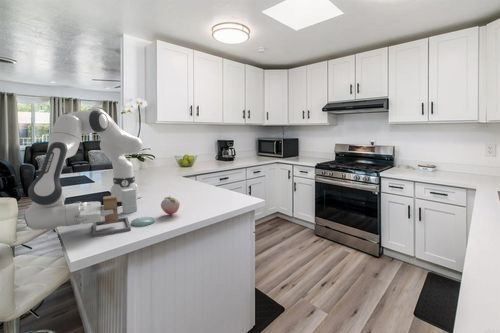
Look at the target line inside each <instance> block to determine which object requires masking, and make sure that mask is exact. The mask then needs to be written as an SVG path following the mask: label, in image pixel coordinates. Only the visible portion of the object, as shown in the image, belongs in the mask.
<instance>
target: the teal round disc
mask: <svg viewBox="0 0 500 333" xmlns="http://www.w3.org/2000/svg"><path fill="white" fill-rule="evenodd" d="M155 221H156V220H155V217H153V216H143V217H137V218H134V219H132V220H131V221H130V222H131V226H133V227H146V226H149V225H152V224H154V223H155Z"/></svg>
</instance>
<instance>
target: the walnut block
mask: <svg viewBox="0 0 500 333" xmlns="http://www.w3.org/2000/svg"><path fill="white" fill-rule="evenodd" d="M102 200H103V205H104V211H105V210H108V209H113V214H108V215H106V216H104V221H105V225H110V224H116V223H119V222H118V218H119V217H118V216H119V214H118V202H117V198H116V195H115V196H112V195H106V196H103V197H102Z"/></svg>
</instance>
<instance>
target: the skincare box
mask: <svg viewBox="0 0 500 333" xmlns="http://www.w3.org/2000/svg"><path fill="white" fill-rule="evenodd" d="M121 199H122V202H121V208H122V213H124V214H130V213H134V212H137V211H138V207H137V206H138V205H137V204H138V203H137V199H136V190H135V189H133V188H130V189H125V190H121Z"/></svg>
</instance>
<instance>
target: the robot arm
mask: <svg viewBox="0 0 500 333" xmlns="http://www.w3.org/2000/svg"><path fill="white" fill-rule="evenodd" d="M94 133H96V134H97V135H98V136H99V137H100V138H101V139H100V143H99V148H100V150H101V152H102V153H103V154H105V155H106V156H107V158H108V159H109V160H110V163H111V165H112V170H113V172H112V173H113V178H112V181H113V185H112V186H111V188H110V193H111V194H110V196H115V195H116V198H117V203H122V199H121V190H125V189H130V188H133V189H135V190H136V200H137V199H141V198H143V197H142V195H141V194H140V193H139V187H138V186H139V185H138V184H137V183H136V182H135V181H136V179H135V178H136V177H135V175H134V165H133V163H132V162H131V161H130V160H129V159H127V158H126V157H125V156H126V155H128V156H129V155H136V154H137V155H138V154H140V153H142V151H143V149H144V142H143V141H142V139H141V138H140V137H138V136H134V135H132V134H130V133H129V132H126V131H125V130H124V129H122V128H121V127H120V126H119V125H118V124H117V123H116V122H115V120H114V119H113V118H112V117H111V116H110V115H109V114H108V113H107V112H105V111H104V110H103V109H102V108H100V107H97V106H96V107H91V108H89V109H88V110H78V111H72V112H71V111H67V112H65V113H63V114H61V115H59V116H58V117H57V118H56V121H55V122H54V124H53V126H52V129H51V132H50V135H49V140H48V144H47V151H46V154H45V158H44V161H43V163H42V166H41V169H40V171H39V174H38V175H37V177H36V178H35V179H34V180H33V181H32V182H31V183H30V185H29V187H28V189H27V191H28V192H27V194H28V198H29V199H30V200H31V201H32V203H31V204H30V206H29V207H28V209H27V210H25V212H24V215H23V216H24V222H25V224H26V226H27V227H28V228H30V229H31V230H34V231H36V230H37V231H40V230H41V231H42V230H51V229H55V228H59V227H69V226H70V227H71V226H77V225H82V224H85V225H86V224H94V223H95V222H99V221H102V217H105V216H106V215H108V214H113V209H108V210H105V211H104V204H103V205H102V202H101V201H84V202H82V201H75V202H74V203H69V204H65V202H66V191H65V190H64V188H63V187H62V184H61V181H60V178H61V174H62V170H63V168H64V165H65V162H66V160H67V159H68V158H71V157H73V156H75V155H76V154H77V152H78V149H79V147H80V144H81V139H82V135H88V134H94Z"/></svg>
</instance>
